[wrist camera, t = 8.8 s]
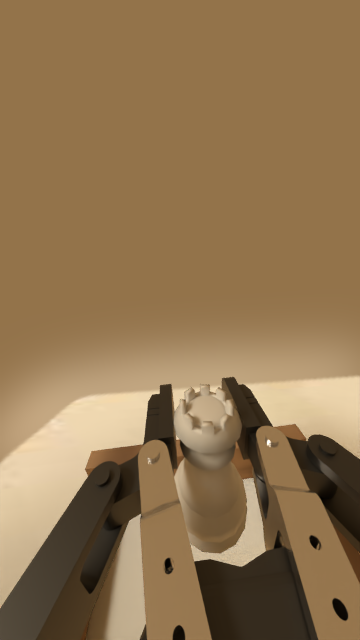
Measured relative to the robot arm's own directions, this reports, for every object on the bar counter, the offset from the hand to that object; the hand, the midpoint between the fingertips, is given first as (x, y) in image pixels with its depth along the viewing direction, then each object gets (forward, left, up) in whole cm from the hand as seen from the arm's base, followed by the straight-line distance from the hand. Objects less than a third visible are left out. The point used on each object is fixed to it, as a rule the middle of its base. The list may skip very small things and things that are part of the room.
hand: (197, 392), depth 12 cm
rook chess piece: (0, -3, -6) cm, 7 cm away
